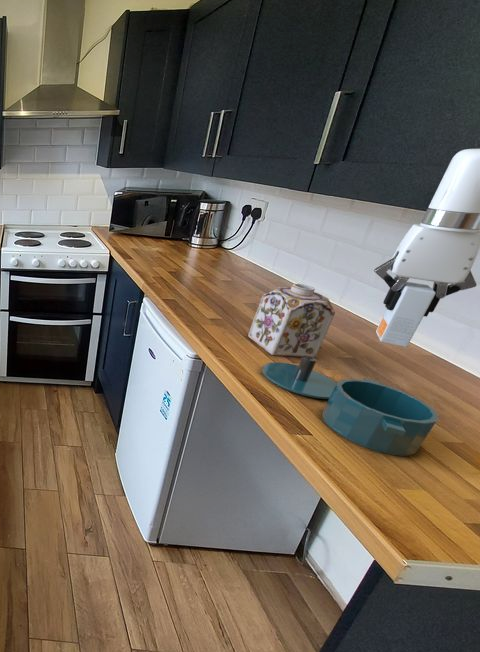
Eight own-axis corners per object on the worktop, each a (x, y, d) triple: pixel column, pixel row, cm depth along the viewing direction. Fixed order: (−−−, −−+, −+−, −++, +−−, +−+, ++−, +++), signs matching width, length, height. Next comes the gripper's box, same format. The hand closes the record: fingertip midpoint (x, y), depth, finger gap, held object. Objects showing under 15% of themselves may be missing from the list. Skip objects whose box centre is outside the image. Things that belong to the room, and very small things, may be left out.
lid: (334, 379, 97) (346, 355, 94) (345, 409, 85) (358, 383, 83) (260, 360, 104) (269, 337, 102) (261, 386, 93) (271, 361, 90)
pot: (401, 418, 83) (419, 388, 80) (433, 476, 68) (457, 442, 65) (316, 395, 90) (330, 366, 87) (328, 443, 75) (345, 410, 72)
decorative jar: (246, 336, 117) (267, 277, 110) (286, 338, 117) (310, 280, 109) (272, 356, 106) (297, 293, 99) (316, 359, 106) (345, 295, 99)
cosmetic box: (374, 332, 88) (400, 280, 83) (401, 337, 86) (429, 284, 81) (379, 341, 83) (406, 287, 78) (407, 348, 81) (437, 292, 76)
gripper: (511, 224, 73) (457, 316, 80) (386, 213, 81) (348, 297, 89) (531, 230, 67) (472, 328, 75) (395, 217, 76) (354, 306, 83)
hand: (405, 310), depth 82 cm, fingers closed on cosmetic box, 4 cm apart
